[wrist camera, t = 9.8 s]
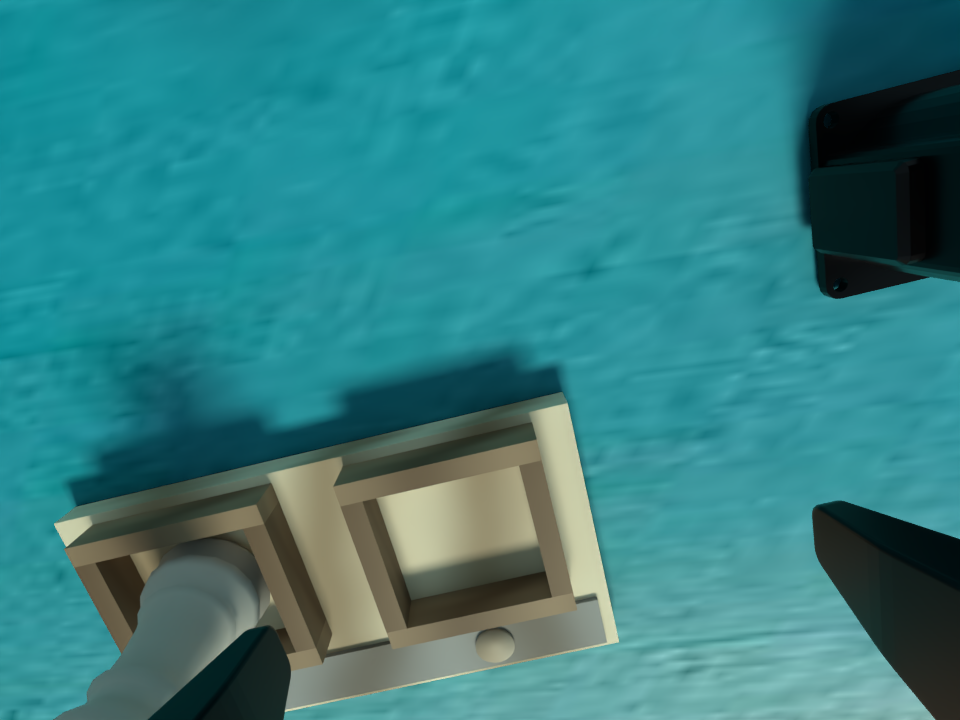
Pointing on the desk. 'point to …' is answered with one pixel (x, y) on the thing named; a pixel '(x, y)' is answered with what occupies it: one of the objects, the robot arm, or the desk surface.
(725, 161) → the desk surface
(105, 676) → the rook chess piece
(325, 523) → the board
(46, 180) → the desk surface
